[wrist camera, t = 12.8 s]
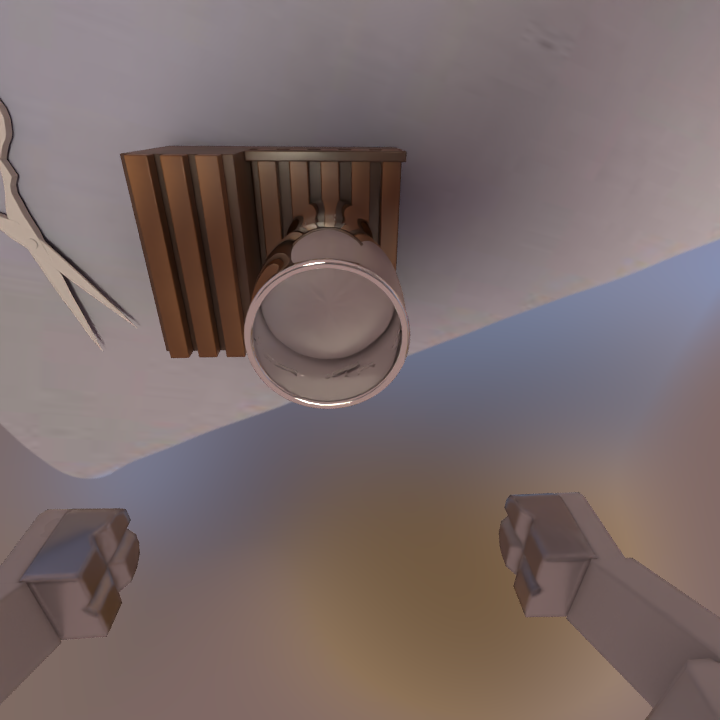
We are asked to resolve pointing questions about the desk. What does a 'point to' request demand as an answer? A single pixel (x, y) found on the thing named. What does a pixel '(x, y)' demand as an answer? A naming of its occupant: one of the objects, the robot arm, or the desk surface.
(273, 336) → the beer glass
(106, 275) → the desk surface
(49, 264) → the scissors
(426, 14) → the desk surface
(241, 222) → the rack
